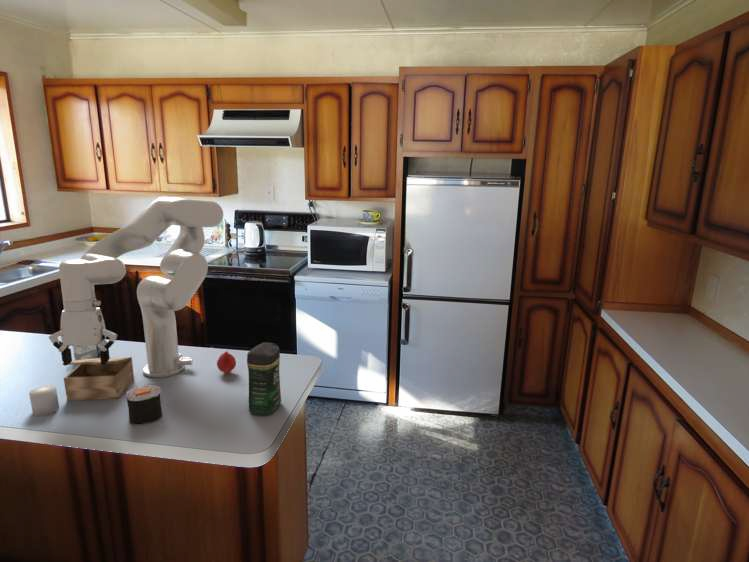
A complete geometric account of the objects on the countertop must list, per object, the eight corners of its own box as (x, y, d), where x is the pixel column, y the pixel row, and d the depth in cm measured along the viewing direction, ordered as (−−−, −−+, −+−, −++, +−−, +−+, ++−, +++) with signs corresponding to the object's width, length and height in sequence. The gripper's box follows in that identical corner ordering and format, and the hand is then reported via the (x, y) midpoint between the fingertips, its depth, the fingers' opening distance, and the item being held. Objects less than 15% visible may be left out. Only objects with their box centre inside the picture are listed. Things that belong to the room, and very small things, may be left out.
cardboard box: (134, 379, 146) (131, 359, 145) (119, 398, 135) (116, 376, 133) (86, 381, 145) (83, 360, 143) (67, 400, 133) (63, 378, 131)
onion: (213, 375, 150) (212, 352, 148) (225, 368, 156) (224, 346, 154) (228, 378, 148) (227, 355, 146) (240, 371, 154) (238, 349, 152)
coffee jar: (272, 418, 126) (270, 354, 122) (245, 415, 127) (241, 351, 123) (285, 401, 135) (283, 341, 131) (259, 398, 137) (257, 338, 132)
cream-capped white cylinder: (63, 404, 131) (60, 384, 130) (52, 415, 125) (48, 395, 124) (40, 405, 130) (37, 385, 129) (27, 416, 125) (24, 396, 123)
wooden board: (131, 359, 145) (131, 357, 145) (115, 363, 133) (115, 361, 133) (83, 360, 143) (83, 358, 143) (62, 365, 131) (62, 362, 131)
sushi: (165, 419, 125) (162, 392, 123) (130, 427, 120) (127, 399, 118) (160, 406, 131) (157, 380, 129) (127, 413, 127) (124, 387, 125)
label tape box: (81, 363, 157) (76, 329, 154) (74, 361, 159) (69, 327, 156) (106, 354, 165) (101, 321, 162) (98, 352, 167) (94, 320, 164)
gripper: (119, 301, 132) (124, 357, 136) (53, 301, 130) (60, 358, 134) (107, 308, 125) (113, 368, 129) (37, 309, 123) (46, 369, 126)
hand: (86, 363), depth 131 cm, fingers open, 9 cm apart
